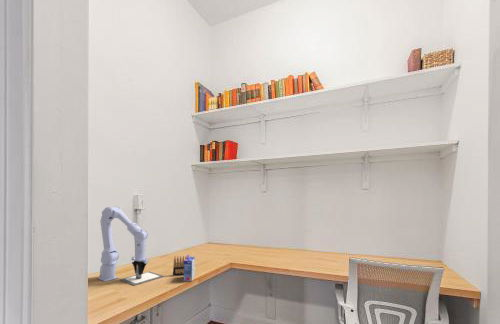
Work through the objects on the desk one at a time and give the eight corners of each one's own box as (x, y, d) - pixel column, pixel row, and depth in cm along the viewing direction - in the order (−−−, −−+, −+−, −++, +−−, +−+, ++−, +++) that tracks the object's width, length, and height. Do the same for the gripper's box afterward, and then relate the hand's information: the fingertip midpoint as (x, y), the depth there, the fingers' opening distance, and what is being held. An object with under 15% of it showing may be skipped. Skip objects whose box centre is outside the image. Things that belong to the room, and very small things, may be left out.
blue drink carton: (186, 276, 159) (187, 252, 161) (195, 276, 159) (195, 252, 161) (182, 281, 149) (183, 256, 151) (191, 281, 150) (192, 256, 152)
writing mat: (119, 280, 151) (119, 279, 151) (149, 272, 167) (149, 271, 167) (133, 285, 142) (133, 284, 142) (163, 276, 158) (163, 275, 158)
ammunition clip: (189, 274, 164) (190, 255, 165) (189, 274, 162) (190, 255, 163) (173, 274, 162) (173, 255, 163) (172, 275, 160) (173, 256, 162)
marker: (134, 278, 152) (135, 264, 153) (139, 276, 155) (140, 263, 156) (137, 279, 151) (138, 265, 152) (142, 277, 153) (143, 264, 154)
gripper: (127, 250, 155) (126, 273, 154) (141, 253, 148) (140, 277, 146) (137, 248, 161) (136, 270, 159) (151, 251, 154) (150, 274, 152)
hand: (138, 273), depth 153 cm, fingers closed on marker, 3 cm apart
